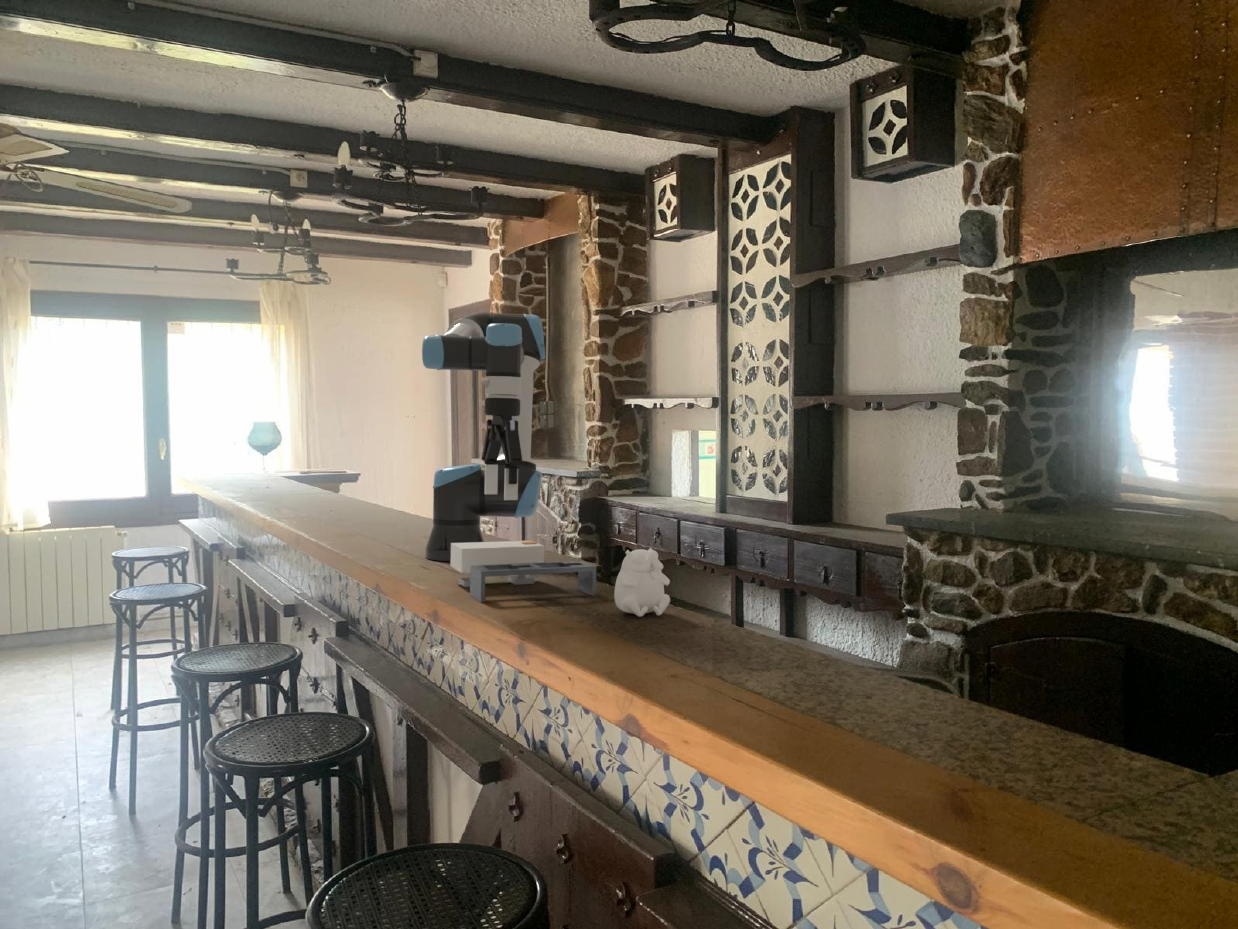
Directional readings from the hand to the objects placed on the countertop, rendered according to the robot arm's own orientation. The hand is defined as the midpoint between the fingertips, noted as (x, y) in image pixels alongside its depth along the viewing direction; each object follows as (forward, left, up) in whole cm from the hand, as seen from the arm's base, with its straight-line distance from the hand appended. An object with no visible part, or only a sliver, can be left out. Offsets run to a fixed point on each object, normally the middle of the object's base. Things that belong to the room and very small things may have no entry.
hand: (500, 497), depth 198 cm
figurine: (+37, +16, -19) cm, 44 cm away
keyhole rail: (+15, +3, -19) cm, 24 cm away
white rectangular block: (0, 0, -19) cm, 19 cm away
